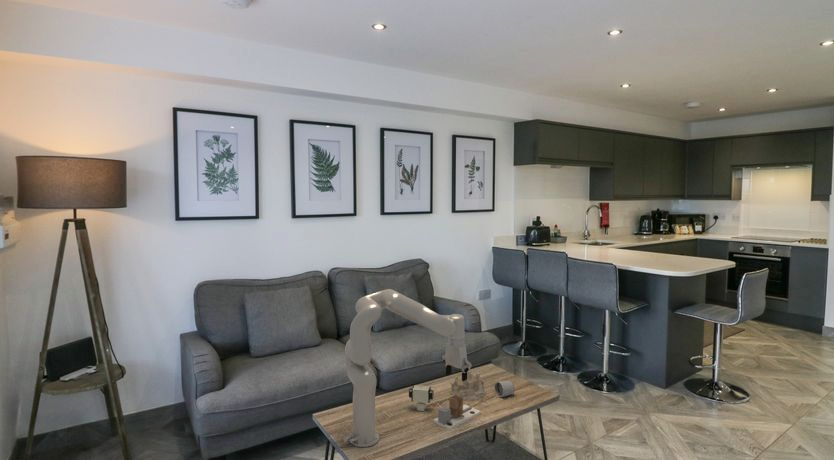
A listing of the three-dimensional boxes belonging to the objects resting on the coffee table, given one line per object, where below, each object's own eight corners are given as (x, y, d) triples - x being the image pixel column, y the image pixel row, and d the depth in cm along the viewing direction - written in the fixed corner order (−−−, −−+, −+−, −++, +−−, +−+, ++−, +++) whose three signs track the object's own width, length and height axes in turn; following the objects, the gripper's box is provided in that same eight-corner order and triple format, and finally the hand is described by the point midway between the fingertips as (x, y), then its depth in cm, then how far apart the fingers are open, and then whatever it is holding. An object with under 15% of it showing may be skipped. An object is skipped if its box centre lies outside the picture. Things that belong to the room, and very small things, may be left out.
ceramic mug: (515, 396, 236) (515, 381, 235) (503, 399, 232) (503, 384, 232) (502, 389, 245) (502, 375, 245) (490, 392, 241) (490, 377, 241)
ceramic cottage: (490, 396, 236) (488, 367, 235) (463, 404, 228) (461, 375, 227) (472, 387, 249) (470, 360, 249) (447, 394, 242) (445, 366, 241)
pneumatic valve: (432, 412, 218) (432, 388, 217) (408, 410, 221) (408, 386, 220) (434, 407, 224) (434, 383, 223) (411, 405, 226) (410, 381, 225)
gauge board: (449, 430, 202) (449, 414, 201) (433, 422, 209) (433, 406, 209) (480, 413, 217) (480, 399, 217) (464, 406, 224) (464, 392, 224)
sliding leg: (460, 419, 207) (460, 402, 207) (449, 414, 212) (449, 397, 211) (467, 415, 211) (467, 399, 210) (456, 410, 215) (456, 394, 215)
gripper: (437, 339, 213) (437, 374, 215) (465, 347, 201) (465, 385, 202) (448, 335, 219) (448, 370, 220) (476, 343, 206) (476, 380, 207)
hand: (456, 377), depth 211 cm, fingers open, 9 cm apart
